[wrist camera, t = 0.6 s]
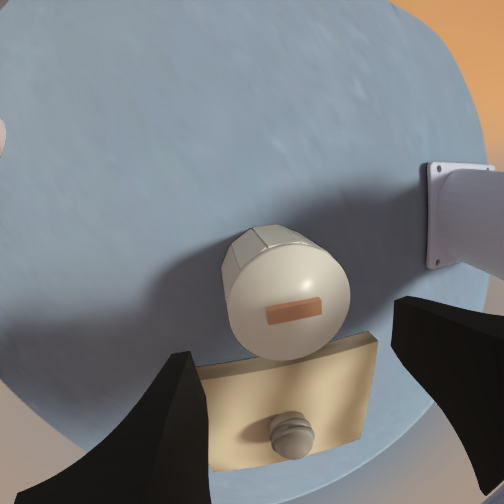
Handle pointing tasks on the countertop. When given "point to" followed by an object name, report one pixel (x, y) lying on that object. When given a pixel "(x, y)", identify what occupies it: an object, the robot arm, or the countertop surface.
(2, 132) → the smoothie
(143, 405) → the robot arm
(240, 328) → the cream short cylinder
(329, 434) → the post board
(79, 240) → the countertop surface
